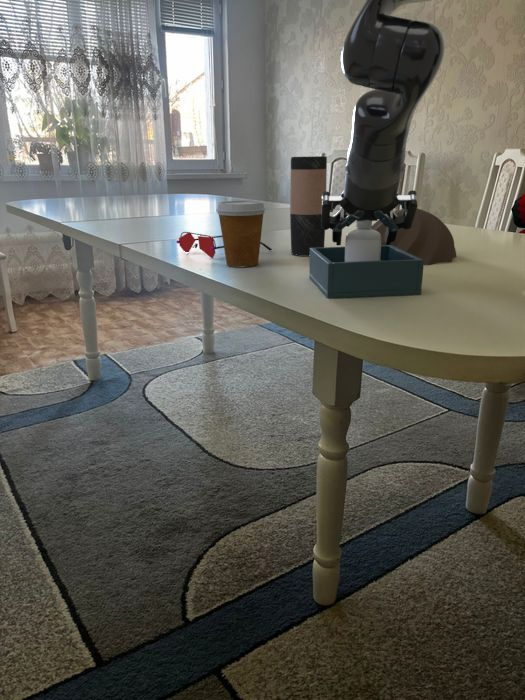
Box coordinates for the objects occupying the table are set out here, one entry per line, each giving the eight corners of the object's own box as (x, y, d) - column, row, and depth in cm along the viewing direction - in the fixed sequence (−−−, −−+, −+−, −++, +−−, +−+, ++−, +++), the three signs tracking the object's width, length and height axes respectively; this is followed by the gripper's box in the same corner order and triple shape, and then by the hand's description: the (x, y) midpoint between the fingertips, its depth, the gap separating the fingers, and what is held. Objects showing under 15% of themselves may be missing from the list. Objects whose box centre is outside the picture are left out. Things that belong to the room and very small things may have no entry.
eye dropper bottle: (369, 285, 85) (373, 207, 81) (339, 281, 89) (342, 205, 85) (383, 281, 88) (388, 205, 84) (354, 276, 92) (357, 203, 88)
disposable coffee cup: (228, 271, 102) (226, 205, 98) (211, 262, 110) (209, 201, 106) (274, 266, 106) (273, 202, 101) (254, 258, 114) (253, 199, 110)
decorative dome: (463, 265, 103) (469, 212, 100) (357, 263, 107) (360, 211, 104) (451, 249, 121) (455, 203, 118) (361, 247, 125) (363, 202, 121)
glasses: (176, 253, 121) (174, 230, 120) (234, 244, 132) (233, 223, 130) (212, 261, 112) (211, 236, 110) (272, 251, 122) (272, 228, 120)
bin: (390, 275, 96) (391, 245, 95) (421, 294, 83) (424, 260, 81) (309, 278, 95) (309, 247, 93) (327, 298, 81) (328, 263, 80)
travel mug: (332, 253, 119) (334, 156, 112) (309, 257, 114) (310, 156, 107) (305, 249, 124) (307, 156, 117) (282, 253, 119) (282, 157, 112)
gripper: (426, 145, 74) (406, 222, 89) (321, 147, 75) (318, 222, 90) (430, 187, 71) (409, 260, 86) (320, 189, 72) (318, 260, 87)
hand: (362, 240), depth 88 cm, fingers open, 7 cm apart
